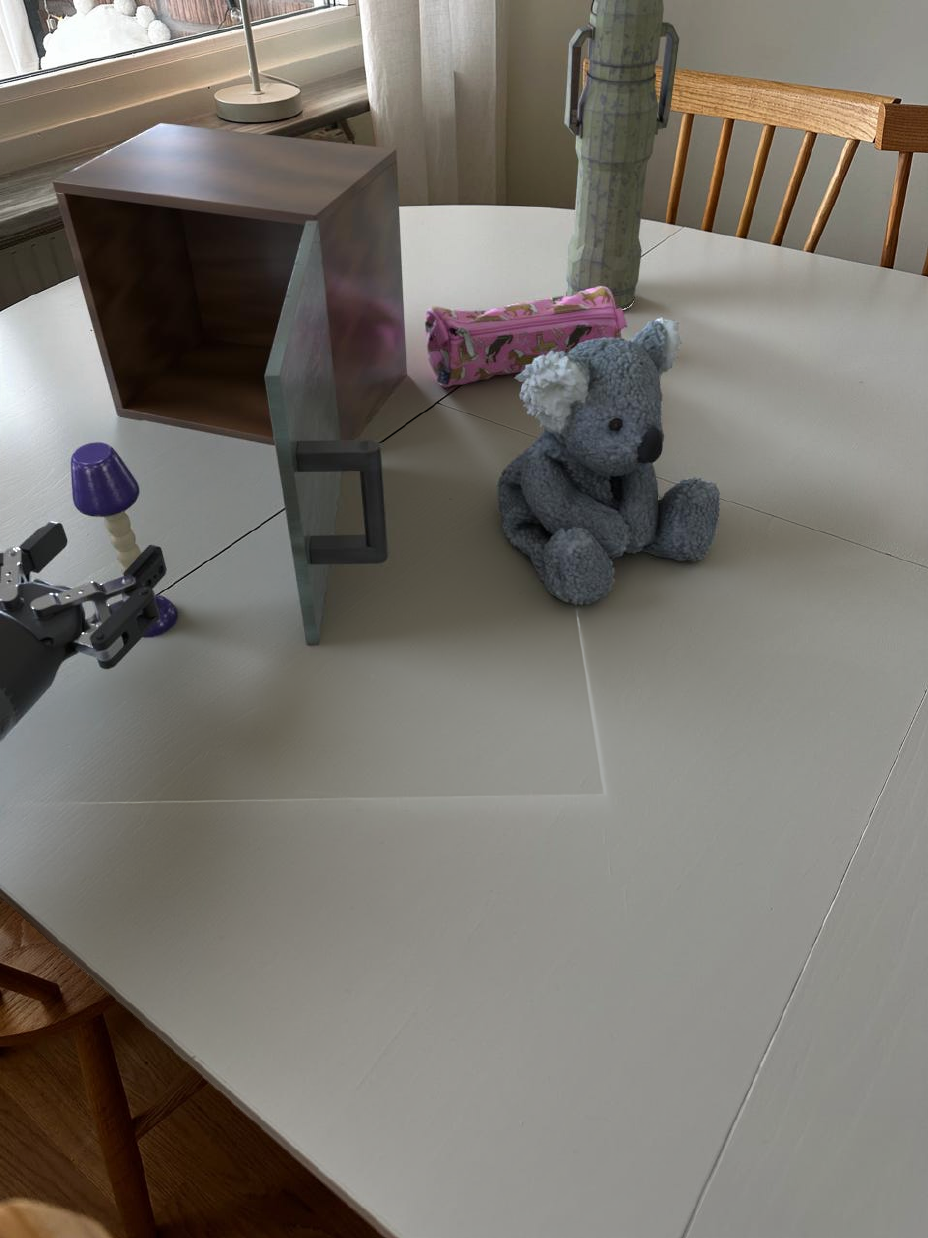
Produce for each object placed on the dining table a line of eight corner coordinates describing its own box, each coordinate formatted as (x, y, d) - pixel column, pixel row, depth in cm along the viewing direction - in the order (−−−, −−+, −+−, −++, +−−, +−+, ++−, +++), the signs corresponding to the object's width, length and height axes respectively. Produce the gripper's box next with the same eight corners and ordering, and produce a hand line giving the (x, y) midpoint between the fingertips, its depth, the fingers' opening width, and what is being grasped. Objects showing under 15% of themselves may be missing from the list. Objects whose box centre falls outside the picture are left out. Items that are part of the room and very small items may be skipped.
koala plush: (568, 626, 79) (588, 415, 66) (452, 514, 91) (449, 314, 77) (726, 554, 86) (773, 350, 73) (600, 459, 97) (621, 266, 84)
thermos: (543, 290, 126) (560, -32, 102) (627, 279, 128) (663, -38, 105) (568, 320, 120) (593, -16, 96) (657, 307, 122) (701, -23, 99)
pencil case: (440, 405, 105) (439, 328, 99) (421, 365, 112) (418, 290, 106) (626, 379, 109) (636, 303, 103) (597, 341, 116) (604, 268, 110)
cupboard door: (401, 461, 97) (388, 219, 81) (391, 644, 78) (371, 374, 62) (332, 462, 97) (305, 220, 81) (306, 645, 78) (264, 375, 62)
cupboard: (341, 459, 97) (315, 215, 81) (117, 415, 104) (51, 180, 87) (407, 375, 110) (396, 148, 94) (203, 340, 116) (160, 122, 100)
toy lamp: (176, 639, 78) (123, 466, 67) (116, 646, 78) (53, 473, 66) (179, 600, 82) (130, 428, 70) (122, 606, 81) (63, 434, 70)
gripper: (37, 680, 57) (183, 520, 68) (-157, 625, 60) (13, 482, 72) (72, 761, 62) (203, 601, 73) (-108, 707, 66) (43, 561, 77)
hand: (109, 542), depth 72 cm, fingers open, 8 cm apart
